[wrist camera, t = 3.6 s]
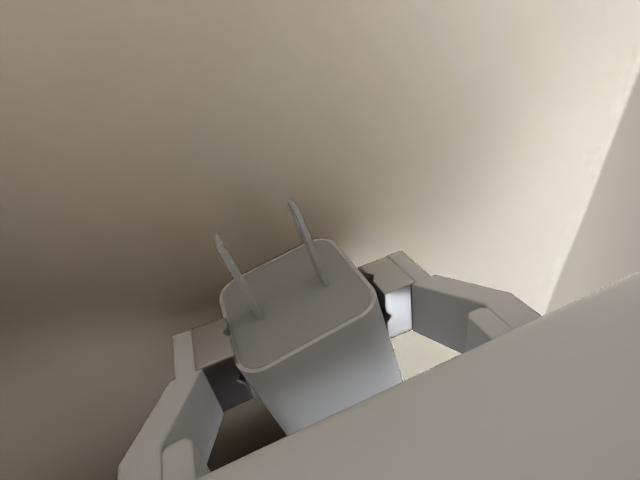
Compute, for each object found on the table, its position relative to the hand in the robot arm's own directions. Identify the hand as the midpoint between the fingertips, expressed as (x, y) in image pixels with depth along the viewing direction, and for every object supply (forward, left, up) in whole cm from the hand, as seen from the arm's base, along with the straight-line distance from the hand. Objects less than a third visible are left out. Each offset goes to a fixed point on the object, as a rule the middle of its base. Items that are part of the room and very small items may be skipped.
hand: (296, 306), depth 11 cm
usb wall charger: (0, 0, -2) cm, 2 cm away
